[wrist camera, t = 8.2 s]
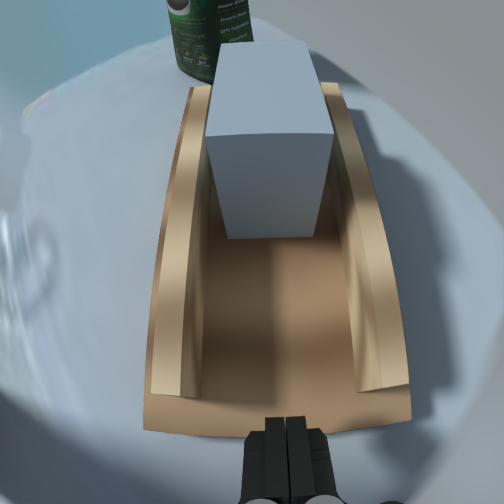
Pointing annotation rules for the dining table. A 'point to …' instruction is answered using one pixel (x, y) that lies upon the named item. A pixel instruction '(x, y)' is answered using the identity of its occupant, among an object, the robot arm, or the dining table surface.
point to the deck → (273, 304)
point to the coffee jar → (206, 32)
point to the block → (268, 139)
